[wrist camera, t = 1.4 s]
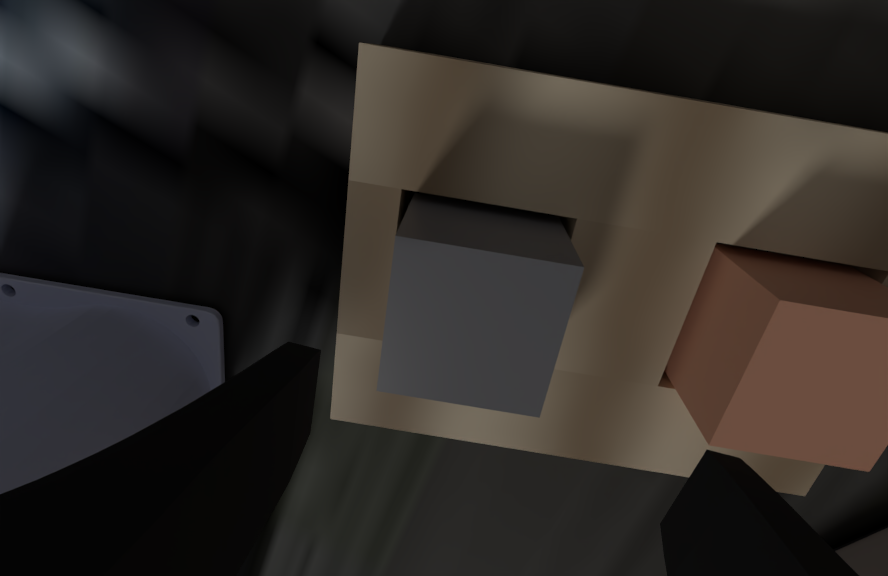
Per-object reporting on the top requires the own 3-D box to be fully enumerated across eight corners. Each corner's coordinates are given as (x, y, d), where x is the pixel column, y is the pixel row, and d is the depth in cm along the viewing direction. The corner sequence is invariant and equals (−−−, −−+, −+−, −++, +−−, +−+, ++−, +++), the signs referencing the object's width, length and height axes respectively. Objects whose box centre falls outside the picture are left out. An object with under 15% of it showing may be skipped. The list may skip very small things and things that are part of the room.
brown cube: (659, 362, 17) (708, 445, 14) (708, 242, 15) (779, 300, 12) (786, 384, 17) (869, 471, 14) (850, 266, 15) (965, 331, 12)
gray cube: (397, 319, 17) (376, 390, 13) (414, 192, 15) (395, 235, 12) (526, 340, 17) (539, 417, 14) (558, 216, 15) (584, 267, 12)
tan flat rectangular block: (349, 370, 20) (330, 418, 18) (379, 44, 15) (358, 42, 13) (761, 438, 21) (804, 496, 18) (924, 138, 16) (1019, 156, 13)
